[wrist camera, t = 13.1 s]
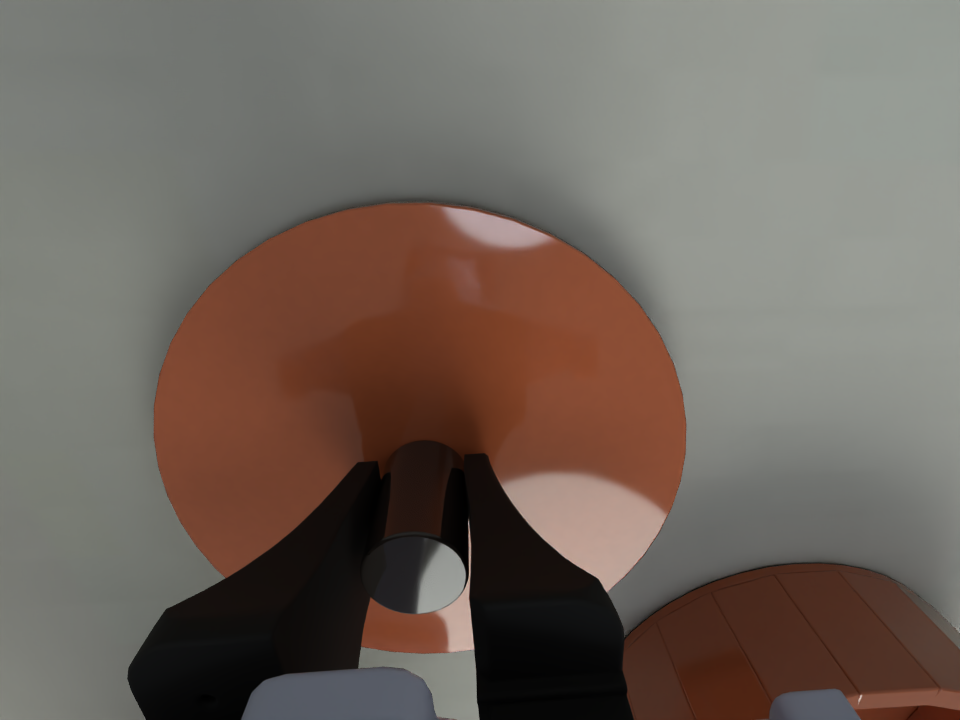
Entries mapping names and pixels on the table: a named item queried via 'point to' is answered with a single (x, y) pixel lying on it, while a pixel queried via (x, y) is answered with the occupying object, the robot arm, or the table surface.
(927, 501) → the table surface
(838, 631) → the pot
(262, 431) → the lid
